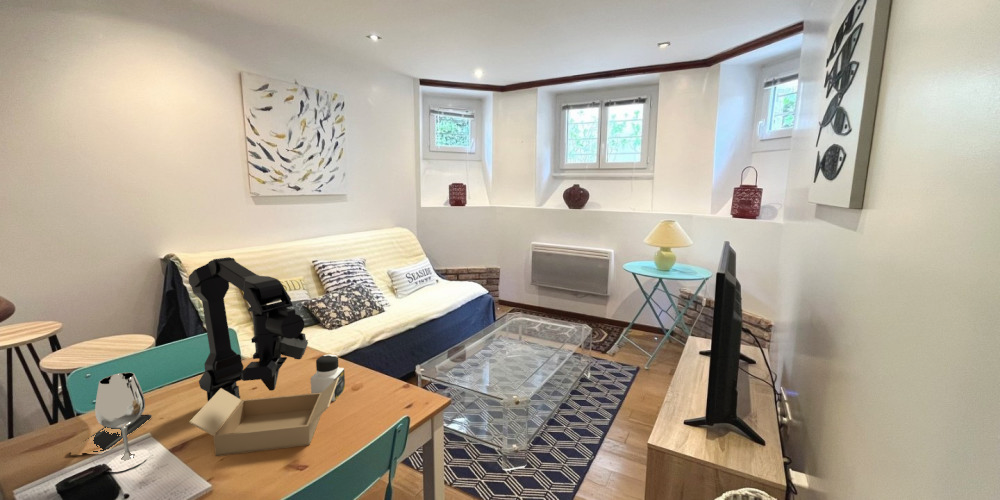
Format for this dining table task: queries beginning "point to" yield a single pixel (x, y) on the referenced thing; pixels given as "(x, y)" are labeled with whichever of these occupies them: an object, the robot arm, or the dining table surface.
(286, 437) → the carton
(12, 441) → the dining table surface
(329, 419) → the dining table surface
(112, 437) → the phone
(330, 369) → the medicine bottle
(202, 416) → the flap near
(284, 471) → the dining table surface
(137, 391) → the wineglass
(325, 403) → the flap far
